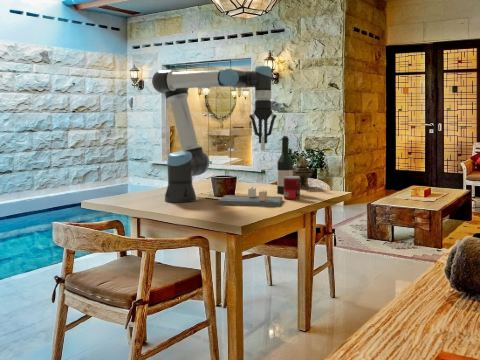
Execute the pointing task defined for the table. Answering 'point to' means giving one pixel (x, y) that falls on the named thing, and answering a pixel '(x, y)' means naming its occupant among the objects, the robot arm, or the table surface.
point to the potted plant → (302, 172)
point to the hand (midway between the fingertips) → (263, 150)
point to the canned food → (291, 187)
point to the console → (249, 200)
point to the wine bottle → (283, 166)
